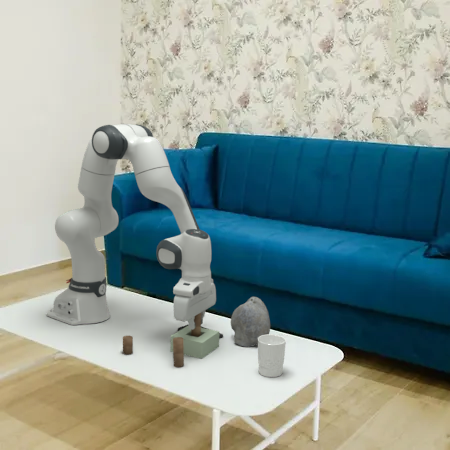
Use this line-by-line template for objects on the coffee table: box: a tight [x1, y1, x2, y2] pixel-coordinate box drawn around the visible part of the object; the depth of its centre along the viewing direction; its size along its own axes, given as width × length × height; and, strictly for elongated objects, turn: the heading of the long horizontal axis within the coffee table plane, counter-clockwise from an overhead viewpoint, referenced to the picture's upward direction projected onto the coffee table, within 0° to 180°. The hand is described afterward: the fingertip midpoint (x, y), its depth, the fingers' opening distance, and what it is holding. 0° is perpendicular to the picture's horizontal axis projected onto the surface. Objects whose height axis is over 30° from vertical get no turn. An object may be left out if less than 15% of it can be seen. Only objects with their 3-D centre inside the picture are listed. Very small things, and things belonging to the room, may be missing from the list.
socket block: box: [170, 324, 220, 359], centre depth 193 cm, size 11×11×5 cm
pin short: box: [122, 335, 134, 356], centre depth 189 cm, size 3×3×5 cm
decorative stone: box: [230, 296, 271, 348], centre depth 199 cm, size 15×10×15 cm
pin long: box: [191, 313, 202, 337], centre depth 192 cm, size 3×3×12 cm
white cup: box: [257, 333, 287, 378], centre depth 177 cm, size 8×8×10 cm
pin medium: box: [172, 337, 185, 368], centre depth 181 cm, size 3×3×8 cm
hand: (195, 326), depth 192 cm, fingers closed on pin long, 3 cm apart
